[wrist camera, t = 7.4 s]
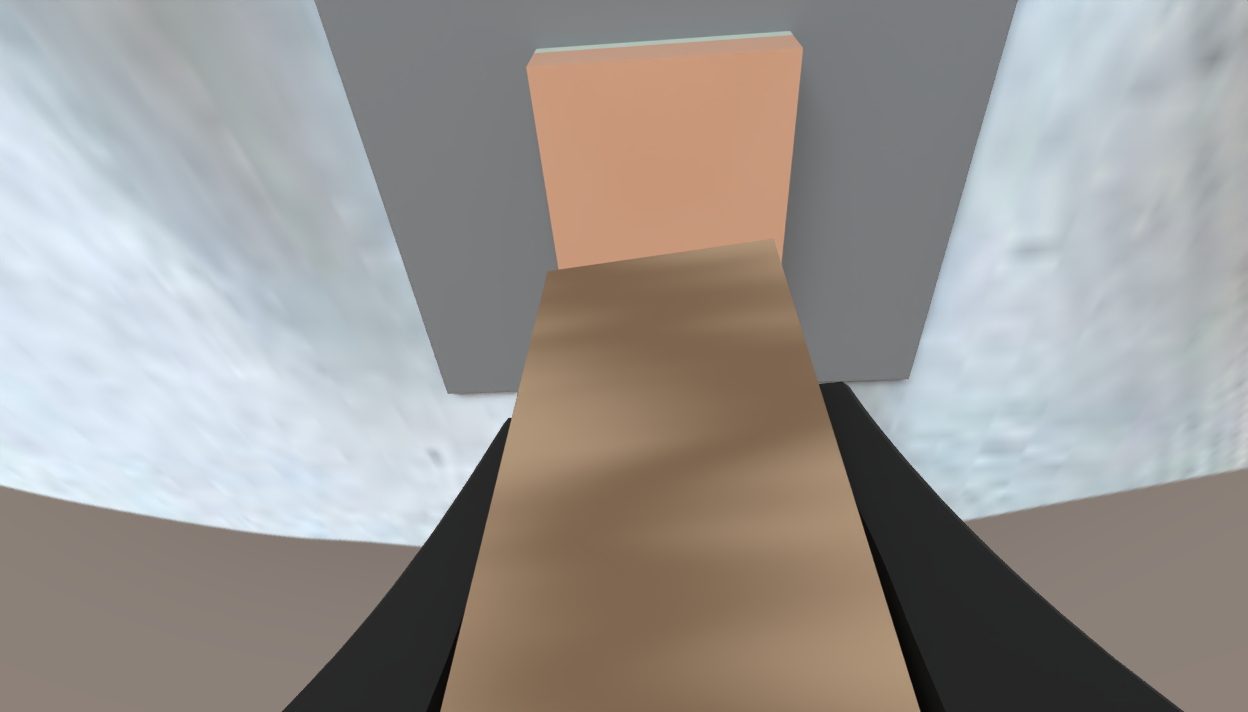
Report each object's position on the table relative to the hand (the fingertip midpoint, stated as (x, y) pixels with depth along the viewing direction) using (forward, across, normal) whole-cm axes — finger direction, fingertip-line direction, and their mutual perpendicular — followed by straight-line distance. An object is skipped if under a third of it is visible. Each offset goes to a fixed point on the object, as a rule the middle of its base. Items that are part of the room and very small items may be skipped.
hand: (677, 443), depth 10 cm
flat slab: (+8, 0, -4) cm, 9 cm away
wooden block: (+3, 0, 0) cm, 3 cm away
